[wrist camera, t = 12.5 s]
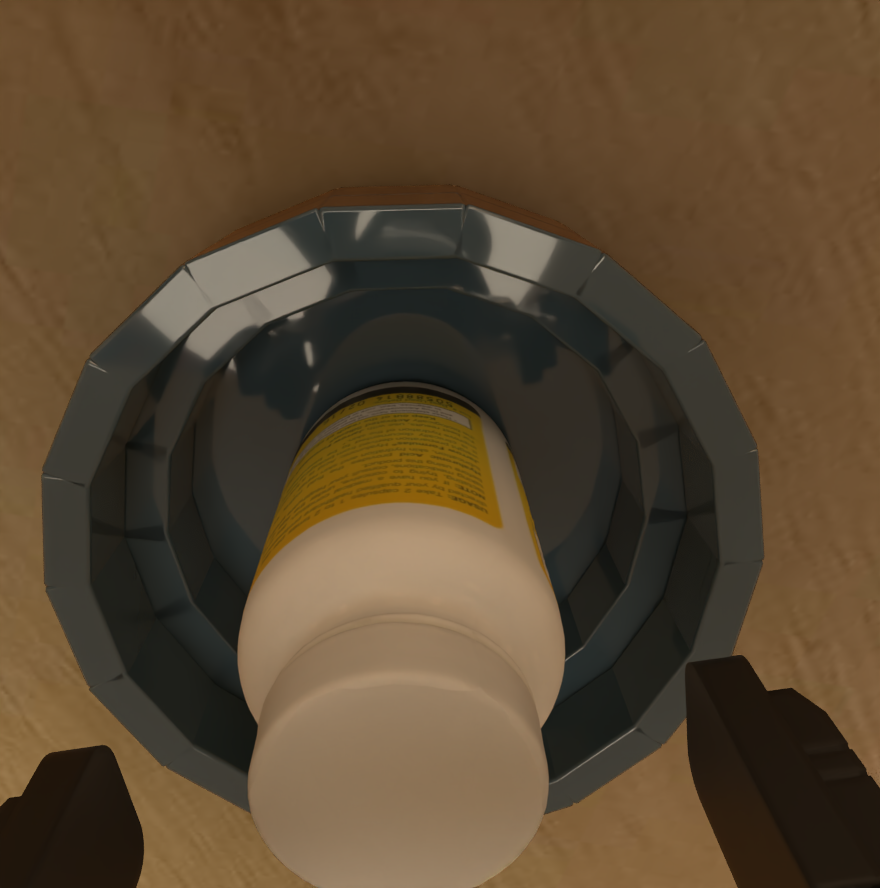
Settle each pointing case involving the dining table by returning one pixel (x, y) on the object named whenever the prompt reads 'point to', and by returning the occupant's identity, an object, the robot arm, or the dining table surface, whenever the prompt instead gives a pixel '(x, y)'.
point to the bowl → (383, 361)
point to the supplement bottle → (400, 650)
